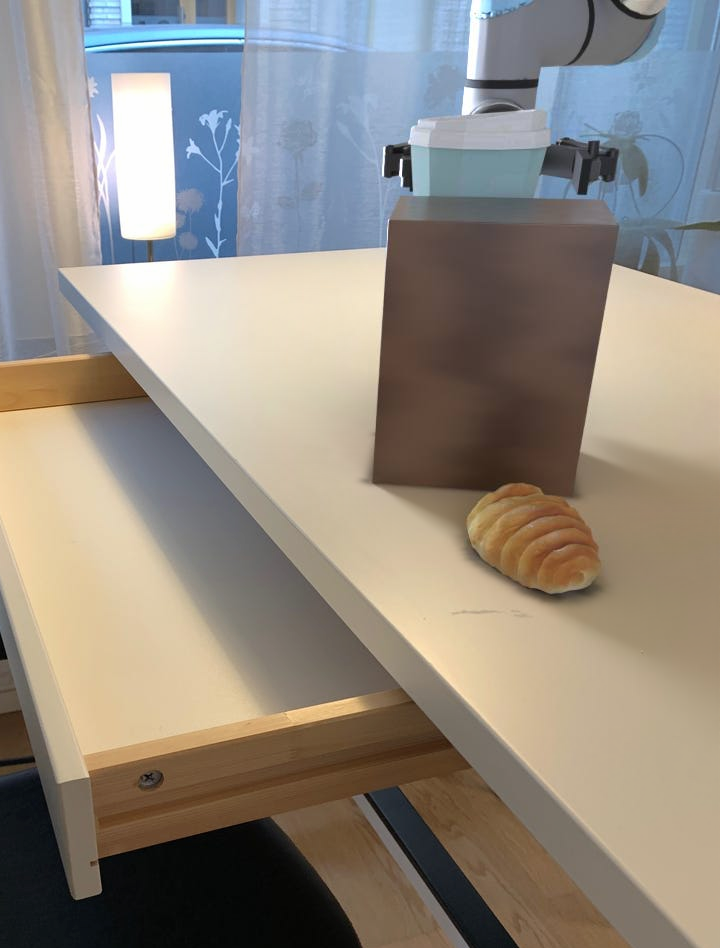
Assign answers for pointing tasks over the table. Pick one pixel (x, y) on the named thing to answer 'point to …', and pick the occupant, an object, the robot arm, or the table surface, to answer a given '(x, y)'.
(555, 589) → the pastry
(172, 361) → the table surface
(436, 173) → the disposable coffee cup
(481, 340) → the storage box
